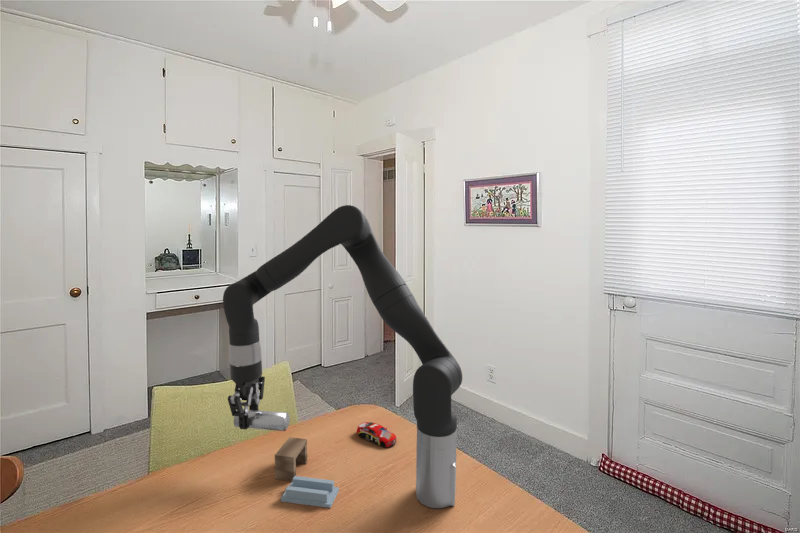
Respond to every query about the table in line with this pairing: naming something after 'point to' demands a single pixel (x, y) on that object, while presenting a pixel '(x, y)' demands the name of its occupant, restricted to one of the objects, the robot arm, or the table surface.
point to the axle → (266, 420)
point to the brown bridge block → (290, 458)
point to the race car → (376, 434)
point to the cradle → (311, 492)
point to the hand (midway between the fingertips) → (249, 423)
